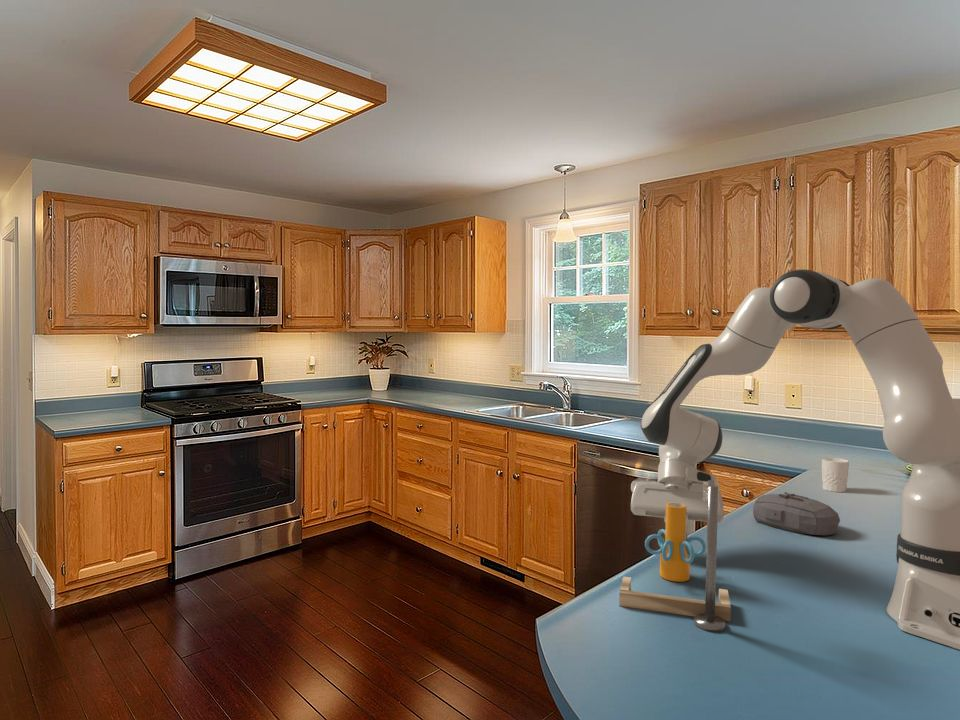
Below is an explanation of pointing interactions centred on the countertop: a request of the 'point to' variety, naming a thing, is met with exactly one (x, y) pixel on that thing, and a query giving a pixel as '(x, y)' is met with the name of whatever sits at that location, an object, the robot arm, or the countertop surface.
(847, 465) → the white cup
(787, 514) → the grey rounded bag
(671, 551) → the vase
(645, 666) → the countertop surface
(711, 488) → the round-based metal post
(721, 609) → the yoke
